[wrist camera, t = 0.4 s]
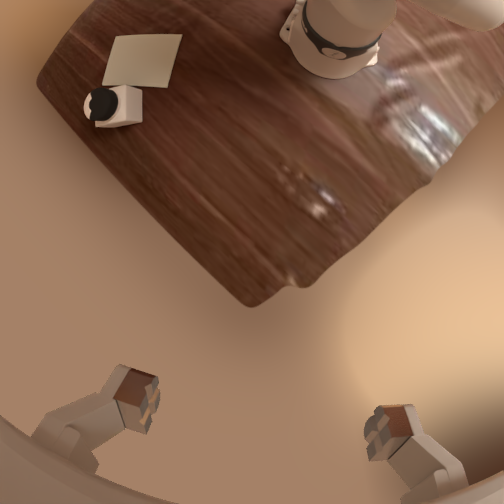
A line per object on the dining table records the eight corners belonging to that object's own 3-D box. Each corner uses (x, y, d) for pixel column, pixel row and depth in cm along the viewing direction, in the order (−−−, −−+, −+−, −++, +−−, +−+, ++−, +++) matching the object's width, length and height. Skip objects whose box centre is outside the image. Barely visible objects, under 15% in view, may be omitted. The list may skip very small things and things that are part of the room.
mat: (116, 36, 42) (116, 36, 41) (182, 35, 42) (182, 34, 41) (102, 85, 46) (101, 85, 46) (167, 87, 46) (166, 87, 46)
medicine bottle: (142, 89, 46) (111, 79, 35) (143, 122, 49) (111, 119, 38) (113, 96, 47) (79, 89, 36) (113, 127, 50) (79, 127, 38)
